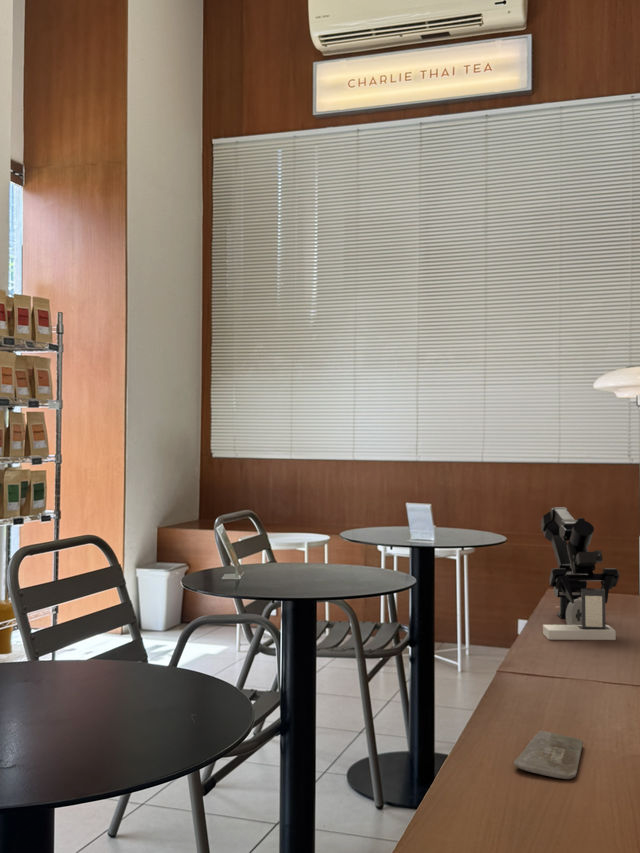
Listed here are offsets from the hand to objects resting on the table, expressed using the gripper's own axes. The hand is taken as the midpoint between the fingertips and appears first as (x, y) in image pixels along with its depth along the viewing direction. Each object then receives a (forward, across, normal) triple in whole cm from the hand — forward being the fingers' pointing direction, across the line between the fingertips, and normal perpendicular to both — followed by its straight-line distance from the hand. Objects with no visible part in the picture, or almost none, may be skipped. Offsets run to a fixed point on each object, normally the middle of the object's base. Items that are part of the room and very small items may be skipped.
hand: (589, 602), depth 240 cm
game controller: (-2, +2, +14) cm, 15 cm away
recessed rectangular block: (+9, -4, +4) cm, 10 cm away
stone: (+73, -32, -61) cm, 100 cm away
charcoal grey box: (+8, 0, +3) cm, 8 cm away
